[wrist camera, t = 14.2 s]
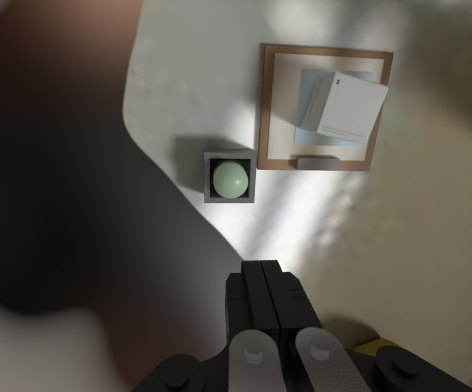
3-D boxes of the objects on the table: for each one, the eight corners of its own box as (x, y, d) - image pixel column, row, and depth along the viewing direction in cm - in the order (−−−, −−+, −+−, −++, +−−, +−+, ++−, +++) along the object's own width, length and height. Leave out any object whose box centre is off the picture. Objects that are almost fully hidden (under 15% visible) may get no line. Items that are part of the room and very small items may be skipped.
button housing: (252, 149, 29) (257, 153, 26) (250, 194, 31) (254, 202, 28) (204, 148, 29) (203, 152, 26) (205, 194, 30) (204, 203, 28)
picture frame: (390, 53, 27) (399, 51, 26) (367, 170, 31) (373, 172, 30) (264, 46, 26) (267, 42, 25) (257, 168, 30) (259, 171, 29)
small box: (298, 129, 28) (315, 132, 24) (314, 75, 27) (336, 68, 22) (343, 140, 29) (368, 146, 25) (362, 89, 28) (392, 84, 23)
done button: (244, 158, 29) (249, 165, 25) (242, 187, 30) (247, 198, 27) (213, 157, 29) (213, 164, 25) (213, 187, 30) (213, 198, 26)
